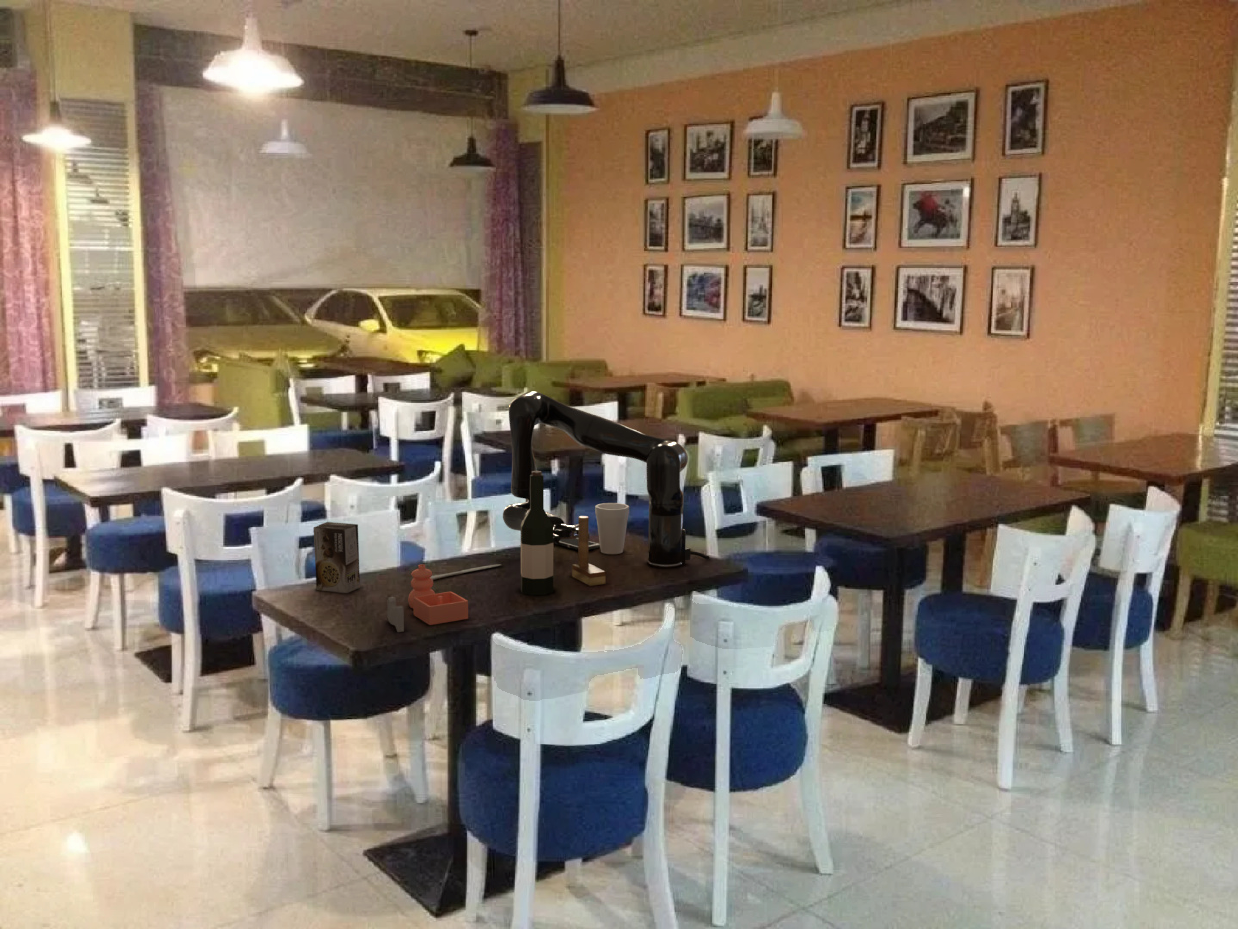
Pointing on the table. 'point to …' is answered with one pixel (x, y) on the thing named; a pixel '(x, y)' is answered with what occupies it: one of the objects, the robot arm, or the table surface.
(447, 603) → the pottery
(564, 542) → the cell phone
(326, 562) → the coffee box
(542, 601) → the table surface
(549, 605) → the table surface
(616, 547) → the foam cup
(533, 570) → the wine bottle
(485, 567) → the butter knife
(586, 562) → the brush
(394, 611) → the grey stepped plate
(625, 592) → the table surface
